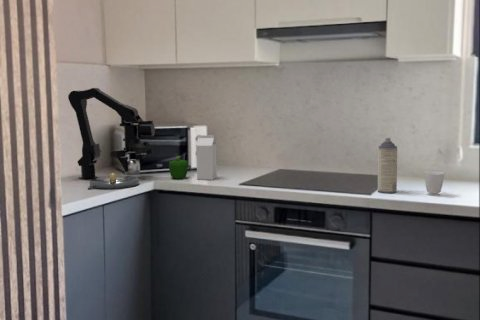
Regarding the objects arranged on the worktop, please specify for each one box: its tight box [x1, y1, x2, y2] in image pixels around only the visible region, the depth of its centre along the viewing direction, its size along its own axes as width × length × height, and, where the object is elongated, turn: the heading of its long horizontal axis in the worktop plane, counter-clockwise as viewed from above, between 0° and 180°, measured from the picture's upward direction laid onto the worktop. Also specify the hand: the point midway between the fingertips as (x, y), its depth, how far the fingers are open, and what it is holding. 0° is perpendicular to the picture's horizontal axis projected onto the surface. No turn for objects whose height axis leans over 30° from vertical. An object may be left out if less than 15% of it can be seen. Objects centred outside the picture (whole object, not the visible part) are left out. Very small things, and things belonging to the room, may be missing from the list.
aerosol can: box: [377, 137, 398, 195], centre depth 204 cm, size 7×7×20 cm
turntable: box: [89, 172, 140, 190], centre depth 230 cm, size 20×20×6 cm
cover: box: [124, 158, 141, 176], centre depth 246 cm, size 6×6×6 cm
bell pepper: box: [168, 156, 189, 180], centre depth 245 cm, size 8×8×10 cm
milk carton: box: [195, 134, 218, 181], centre depth 242 cm, size 7×7×19 cm
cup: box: [423, 170, 445, 197], centre depth 199 cm, size 7×10×8 cm
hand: (132, 171), depth 247 cm, fingers closed on cover, 6 cm apart
